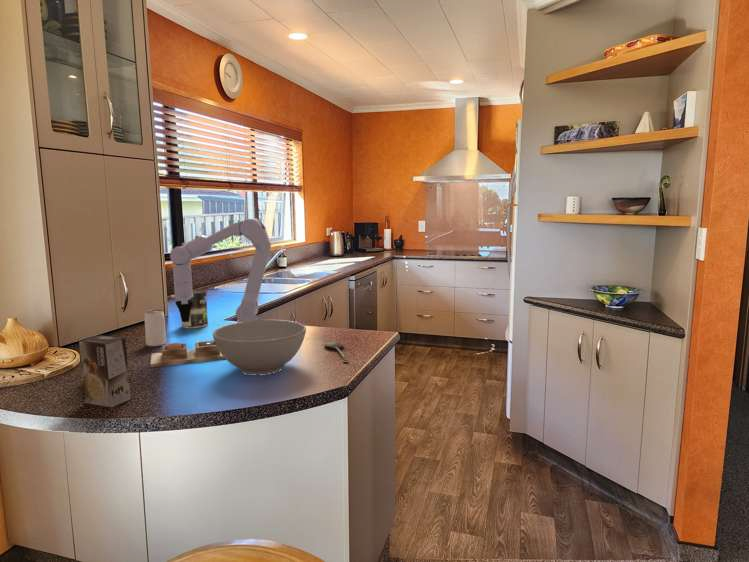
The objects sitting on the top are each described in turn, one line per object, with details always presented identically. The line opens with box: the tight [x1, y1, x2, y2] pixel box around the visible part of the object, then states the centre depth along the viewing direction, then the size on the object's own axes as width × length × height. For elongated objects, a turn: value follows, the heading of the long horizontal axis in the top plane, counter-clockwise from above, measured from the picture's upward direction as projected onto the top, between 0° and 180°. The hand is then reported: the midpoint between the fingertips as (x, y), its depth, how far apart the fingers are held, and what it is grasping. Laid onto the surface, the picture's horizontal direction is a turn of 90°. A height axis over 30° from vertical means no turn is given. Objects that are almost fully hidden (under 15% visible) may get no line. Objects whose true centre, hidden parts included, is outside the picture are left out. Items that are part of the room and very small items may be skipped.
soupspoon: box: [324, 341, 349, 362], centre depth 170 cm, size 22×3×7 cm
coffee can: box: [179, 289, 209, 329], centre depth 210 cm, size 10×10×14 cm
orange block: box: [166, 342, 182, 350], centre depth 165 cm, size 4×4×3 cm
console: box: [149, 339, 226, 368], centre depth 167 cm, size 24×12×4 cm, turn 111°
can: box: [144, 309, 167, 347], centre depth 182 cm, size 6×6×12 cm
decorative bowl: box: [212, 319, 307, 376], centre depth 153 cm, size 27×27×12 cm
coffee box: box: [78, 334, 131, 408], centre depth 129 cm, size 9×6×16 cm
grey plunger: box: [200, 340, 214, 346], centre depth 168 cm, size 4×4×3 cm
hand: (185, 321), depth 176 cm, fingers closed
